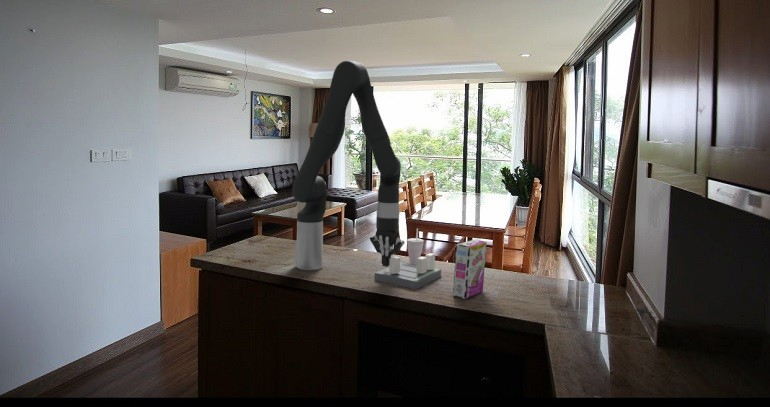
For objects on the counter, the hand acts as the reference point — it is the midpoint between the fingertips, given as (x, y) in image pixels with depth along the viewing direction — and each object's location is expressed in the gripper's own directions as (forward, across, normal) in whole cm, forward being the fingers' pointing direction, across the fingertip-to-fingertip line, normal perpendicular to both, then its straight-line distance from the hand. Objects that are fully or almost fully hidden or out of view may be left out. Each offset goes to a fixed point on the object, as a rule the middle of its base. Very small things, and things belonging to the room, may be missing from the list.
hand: (386, 266), depth 159 cm
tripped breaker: (+2, +4, 0) cm, 4 cm away
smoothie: (+5, -2, +23) cm, 24 cm away
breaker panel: (+5, +6, +6) cm, 9 cm away
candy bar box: (+5, +29, +3) cm, 29 cm away
